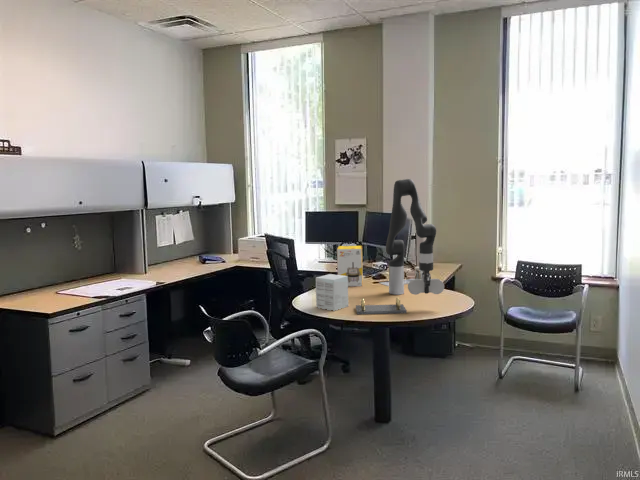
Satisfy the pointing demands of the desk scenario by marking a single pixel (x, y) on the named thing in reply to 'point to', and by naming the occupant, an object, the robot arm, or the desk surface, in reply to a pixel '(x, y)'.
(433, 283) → the grey piece
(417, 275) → the monument
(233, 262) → the desk surface
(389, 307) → the standoff plate
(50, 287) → the desk surface
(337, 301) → the supplement box
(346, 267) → the packaging box
